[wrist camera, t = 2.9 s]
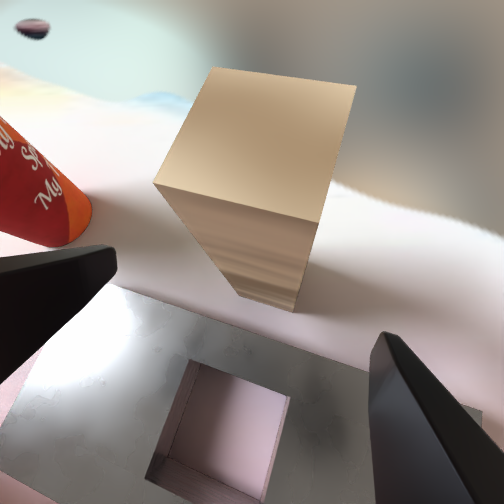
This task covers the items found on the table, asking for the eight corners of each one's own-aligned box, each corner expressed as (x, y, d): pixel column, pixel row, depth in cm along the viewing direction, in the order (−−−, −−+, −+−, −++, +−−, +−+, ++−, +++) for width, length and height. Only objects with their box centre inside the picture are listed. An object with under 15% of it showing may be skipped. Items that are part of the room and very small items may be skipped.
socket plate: (424, 648, 13) (465, 733, 10) (30, 442, 17) (-18, 460, 15) (447, 400, 16) (482, 411, 13) (110, 284, 21) (83, 274, 18)
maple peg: (292, 312, 19) (319, 222, 6) (239, 295, 19) (152, 182, 6) (307, 260, 20) (356, 85, 7) (256, 246, 21) (212, 66, 8)
